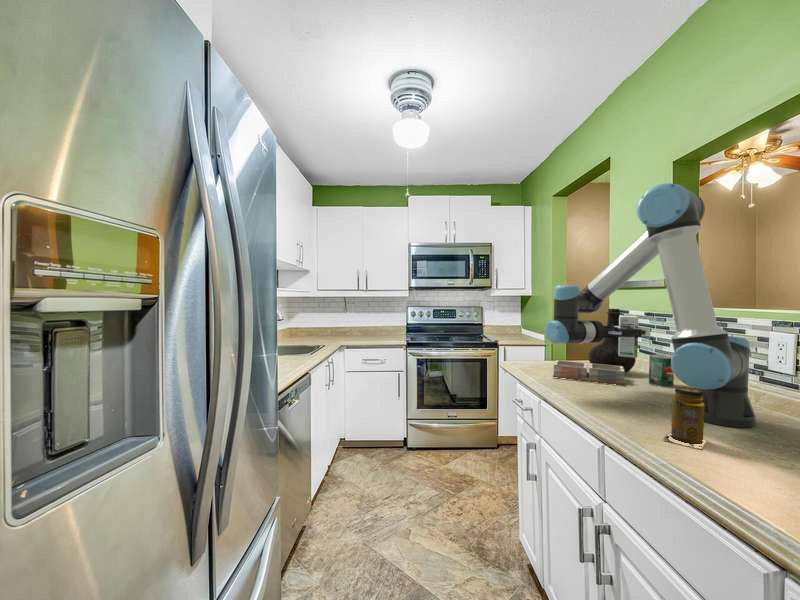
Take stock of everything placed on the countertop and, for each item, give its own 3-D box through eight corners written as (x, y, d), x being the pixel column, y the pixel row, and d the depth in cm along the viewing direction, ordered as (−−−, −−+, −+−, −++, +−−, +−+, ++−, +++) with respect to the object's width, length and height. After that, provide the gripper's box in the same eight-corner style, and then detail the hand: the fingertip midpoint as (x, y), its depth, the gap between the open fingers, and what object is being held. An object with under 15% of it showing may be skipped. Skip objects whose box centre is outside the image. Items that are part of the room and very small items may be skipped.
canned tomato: (674, 388, 141) (675, 358, 140) (648, 385, 145) (649, 356, 144) (672, 384, 147) (673, 355, 147) (648, 381, 151) (649, 353, 151)
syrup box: (618, 356, 136) (619, 315, 136) (617, 354, 141) (619, 314, 141) (637, 358, 133) (638, 316, 133) (636, 355, 139) (637, 315, 138)
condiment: (708, 441, 90) (709, 390, 90) (701, 450, 84) (703, 396, 84) (670, 432, 95) (672, 384, 95) (662, 441, 89) (664, 389, 89)
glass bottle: (583, 372, 166) (585, 308, 166) (594, 367, 180) (595, 307, 179) (630, 379, 155) (633, 310, 154) (638, 372, 169) (640, 309, 168)
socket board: (624, 386, 143) (625, 372, 143) (552, 378, 154) (553, 365, 154) (622, 378, 156) (622, 366, 156) (555, 371, 167) (556, 360, 167)
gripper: (565, 338, 141) (613, 337, 149) (613, 346, 122) (665, 345, 129) (566, 318, 141) (614, 318, 148) (614, 323, 121) (666, 322, 129)
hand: (638, 330), depth 139 cm, fingers closed on syrup box, 8 cm apart
